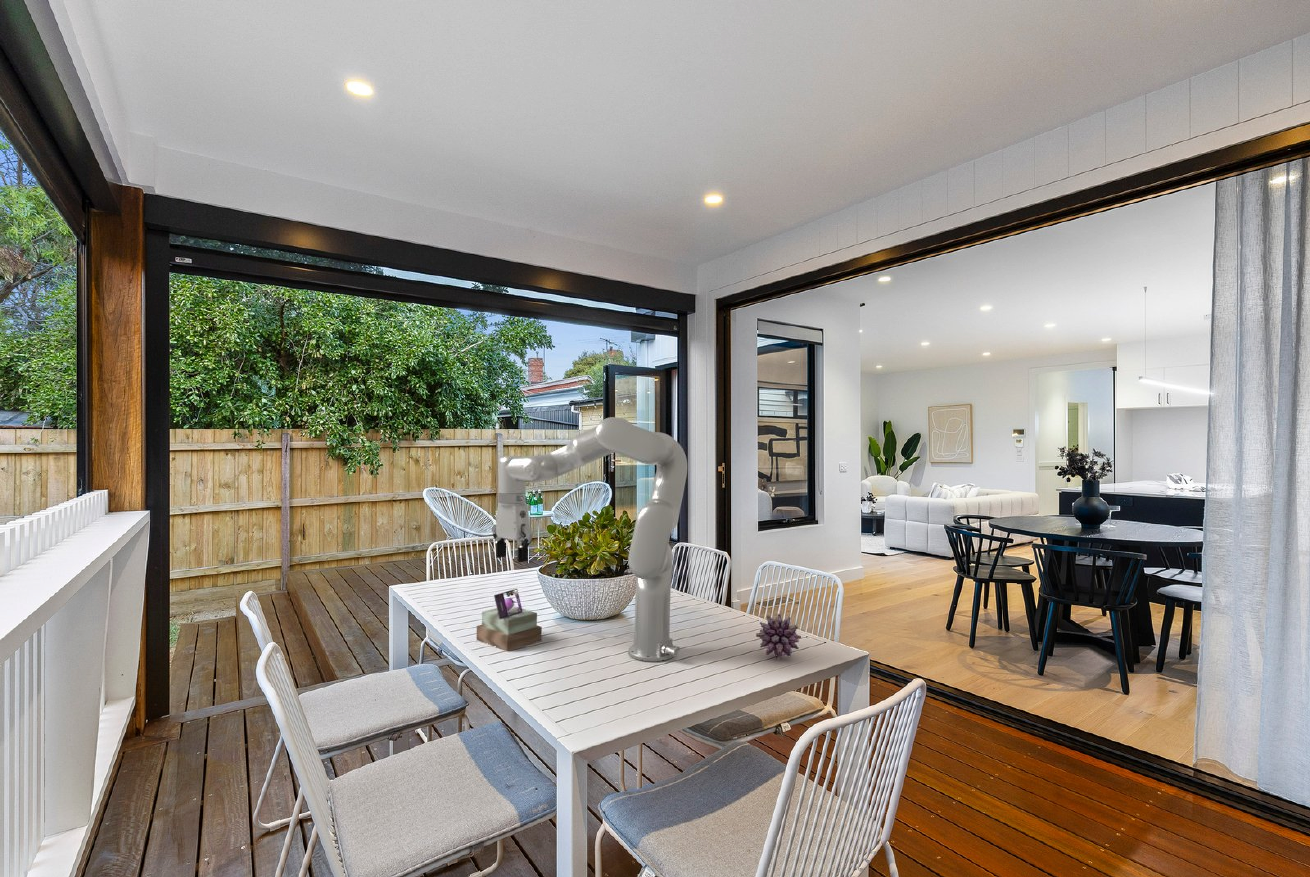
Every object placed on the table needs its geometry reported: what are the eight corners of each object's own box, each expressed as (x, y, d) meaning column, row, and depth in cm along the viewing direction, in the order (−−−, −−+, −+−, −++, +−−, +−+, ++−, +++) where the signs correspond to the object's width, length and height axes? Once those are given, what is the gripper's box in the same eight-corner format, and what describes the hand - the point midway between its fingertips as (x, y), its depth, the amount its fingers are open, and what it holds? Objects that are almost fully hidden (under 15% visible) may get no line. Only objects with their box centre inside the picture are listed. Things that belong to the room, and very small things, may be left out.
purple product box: (496, 594, 174) (519, 588, 182) (483, 598, 176) (505, 591, 184) (502, 618, 173) (524, 611, 180) (488, 622, 175) (511, 614, 183)
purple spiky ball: (786, 669, 162) (787, 623, 162) (747, 657, 170) (748, 613, 170) (808, 658, 171) (809, 614, 171) (770, 647, 179) (771, 605, 179)
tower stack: (541, 640, 181) (542, 612, 181) (507, 651, 171) (507, 621, 171) (510, 630, 189) (511, 603, 189) (476, 639, 180) (477, 611, 180)
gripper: (542, 500, 178) (541, 561, 178) (504, 496, 189) (503, 553, 189) (521, 502, 172) (520, 565, 172) (482, 498, 183) (482, 557, 183)
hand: (511, 559), depth 180 cm, fingers open, 9 cm apart
